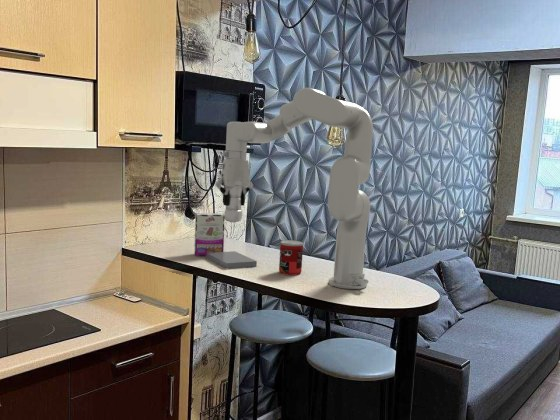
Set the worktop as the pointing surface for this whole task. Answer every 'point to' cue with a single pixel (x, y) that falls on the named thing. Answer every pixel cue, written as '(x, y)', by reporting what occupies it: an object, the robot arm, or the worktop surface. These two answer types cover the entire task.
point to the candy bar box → (209, 233)
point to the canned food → (291, 257)
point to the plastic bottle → (234, 203)
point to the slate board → (231, 259)
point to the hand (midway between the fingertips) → (233, 204)
